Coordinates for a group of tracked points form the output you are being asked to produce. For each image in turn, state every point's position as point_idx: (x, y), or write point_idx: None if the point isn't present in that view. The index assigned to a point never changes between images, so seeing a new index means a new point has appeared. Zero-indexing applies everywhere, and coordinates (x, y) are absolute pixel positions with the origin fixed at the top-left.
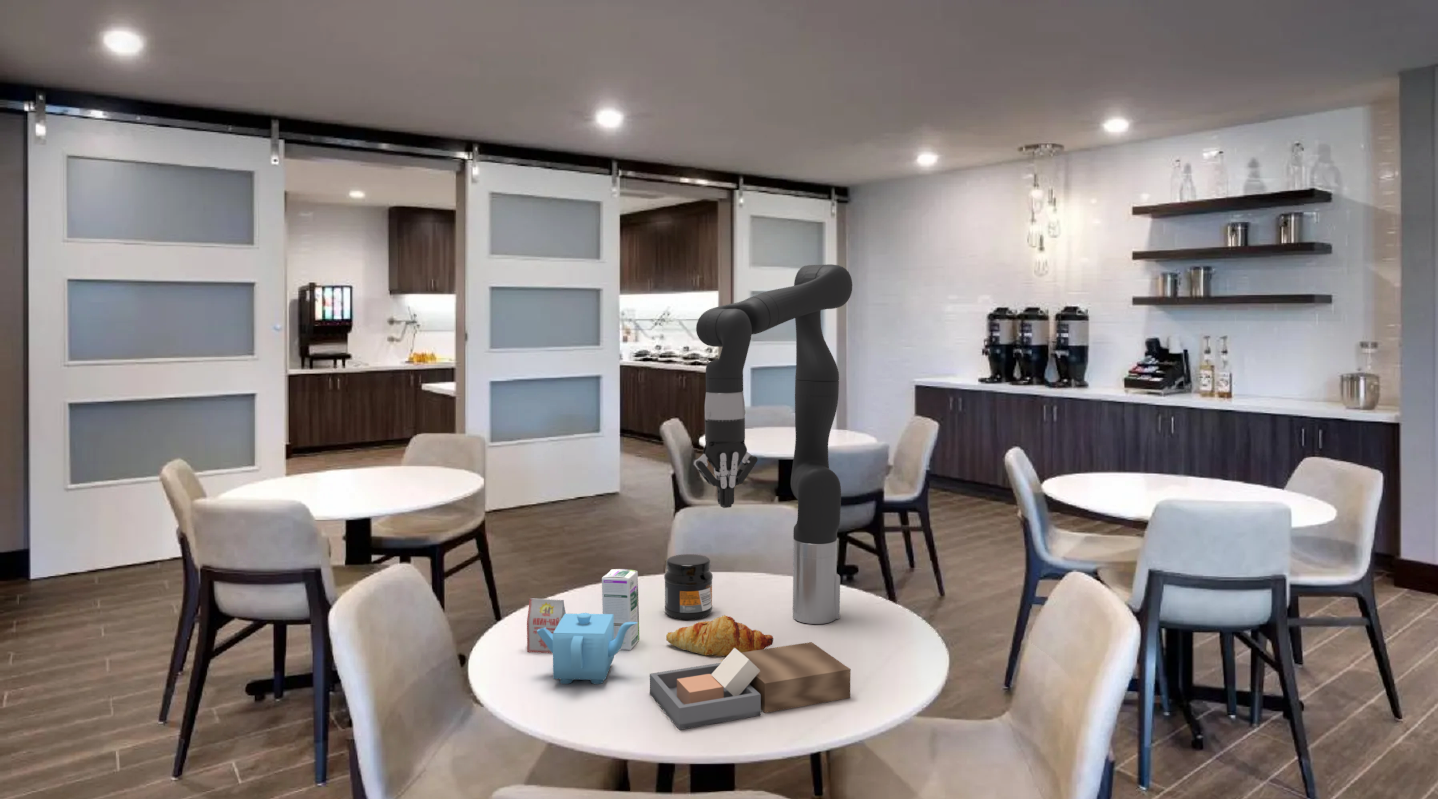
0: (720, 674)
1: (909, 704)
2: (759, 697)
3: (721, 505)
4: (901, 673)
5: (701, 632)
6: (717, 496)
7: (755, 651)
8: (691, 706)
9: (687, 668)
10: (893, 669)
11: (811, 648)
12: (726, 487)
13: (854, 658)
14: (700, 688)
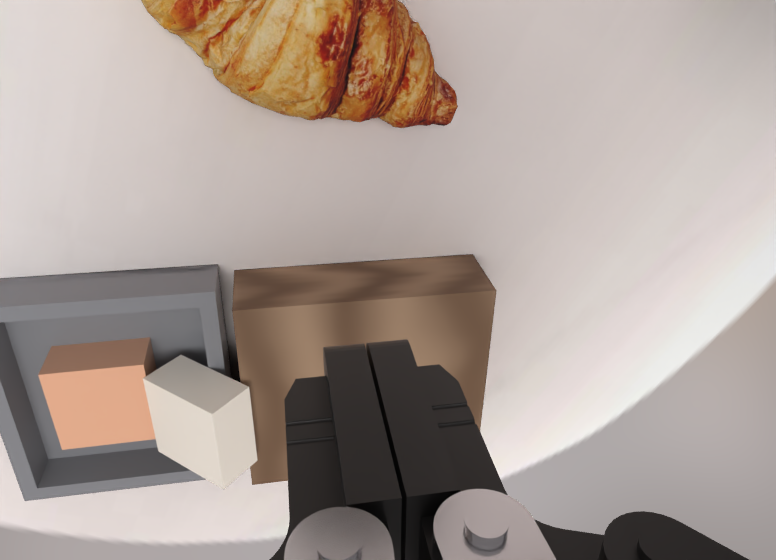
0: (160, 414)
1: (541, 456)
2: None
3: (325, 374)
4: (636, 335)
5: (206, 28)
6: (287, 438)
7: (310, 310)
8: (57, 496)
9: (87, 304)
10: (639, 312)
11: (468, 331)
12: (418, 549)
13: (610, 227)
14: (96, 435)
